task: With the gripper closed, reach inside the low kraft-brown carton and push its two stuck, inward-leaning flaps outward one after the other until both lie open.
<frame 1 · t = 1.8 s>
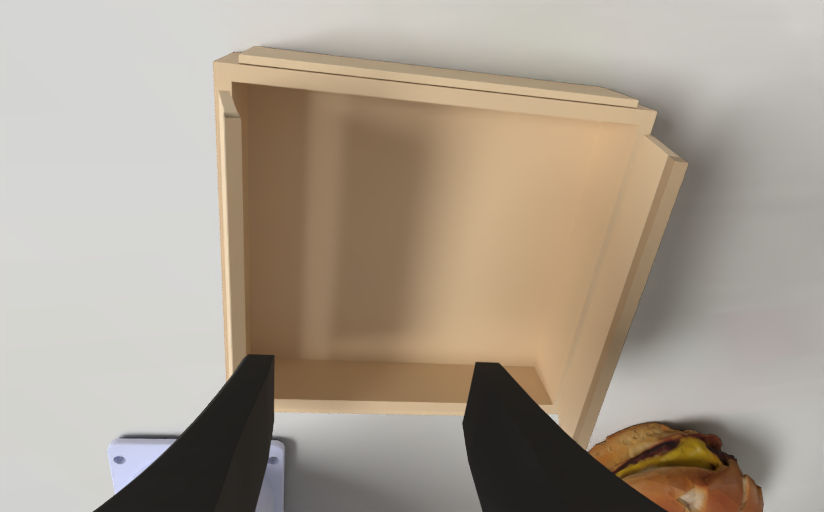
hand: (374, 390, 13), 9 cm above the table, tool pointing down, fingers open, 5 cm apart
flap 2: (233, 295, 16), point 5 cm above the table, hinge at -15.0°
carton: (413, 239, 22), on the table
burger: (636, 475, 30), on the table
flap 1: (607, 314, 18), point 5 cm above the table, hinge at -15.0°
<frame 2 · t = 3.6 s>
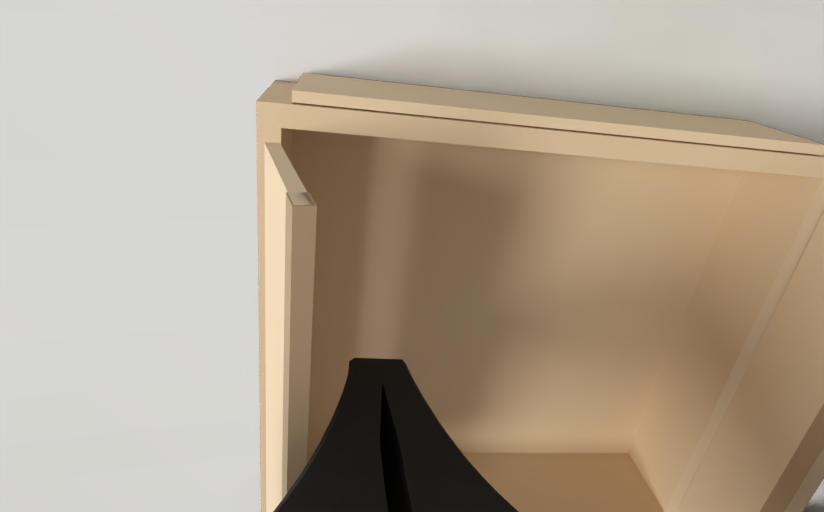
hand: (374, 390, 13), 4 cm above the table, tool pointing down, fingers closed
flap 2: (282, 421, 12), point 5 cm above the table, hinge at -15.0°, touching gripper
carton: (493, 309, 17), on the table
flap 1: (774, 427, 13), point 5 cm above the table, hinge at -15.0°
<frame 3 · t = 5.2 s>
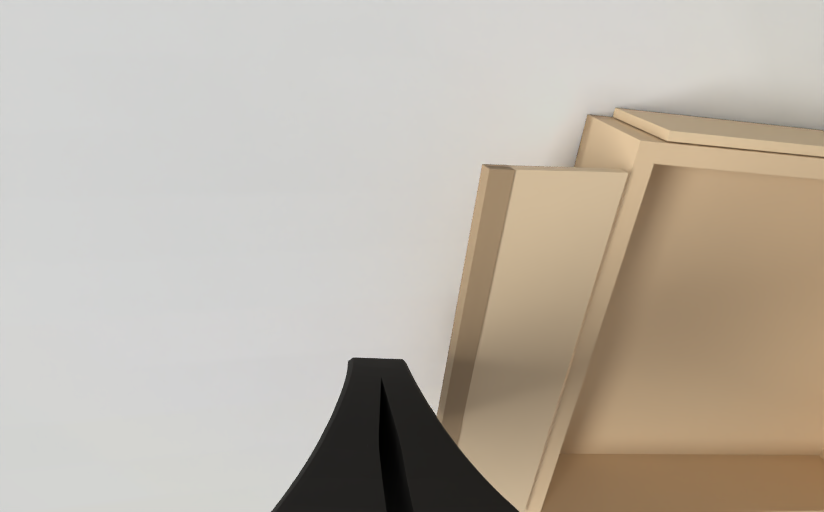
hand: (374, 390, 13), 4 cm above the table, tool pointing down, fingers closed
flap 2: (506, 377, 14), point 3 cm above the table, hinge at 78.5°
carton: (725, 320, 18), on the table
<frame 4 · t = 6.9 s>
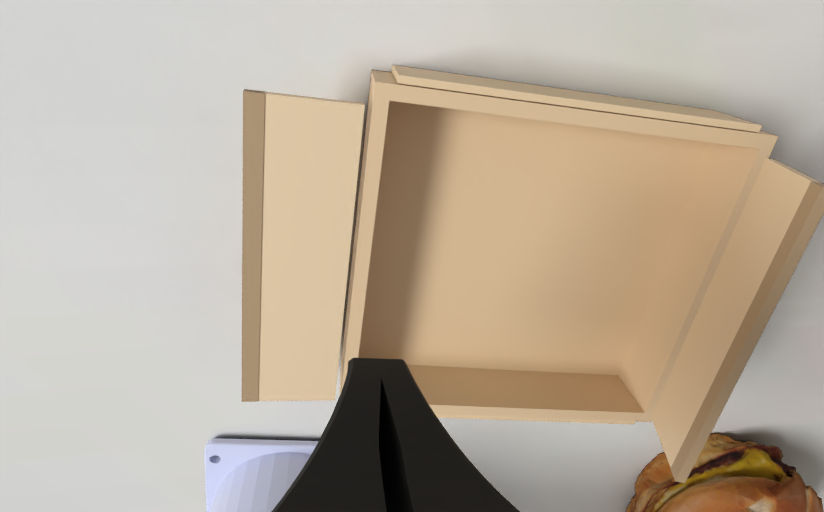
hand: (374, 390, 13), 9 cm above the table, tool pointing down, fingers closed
flap 2: (296, 268, 18), point 3 cm above the table, hinge at 86.1°
carton: (517, 250, 22), on the table
burger: (693, 484, 31), on the table
flap 1: (722, 327, 19), point 5 cm above the table, hinge at -15.0°
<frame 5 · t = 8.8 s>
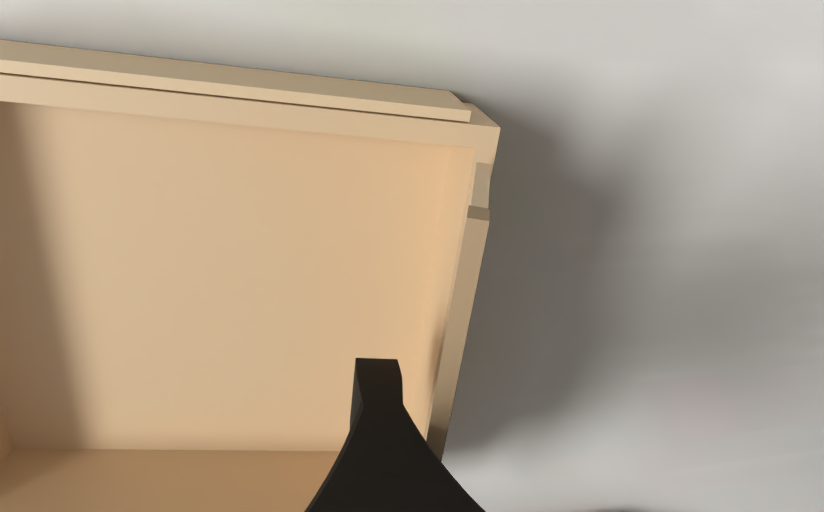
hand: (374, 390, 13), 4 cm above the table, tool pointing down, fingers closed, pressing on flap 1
carton: (213, 295, 16), on the table
flap 1: (436, 422, 12), point 5 cm above the table, hinge at -14.6°, touching gripper
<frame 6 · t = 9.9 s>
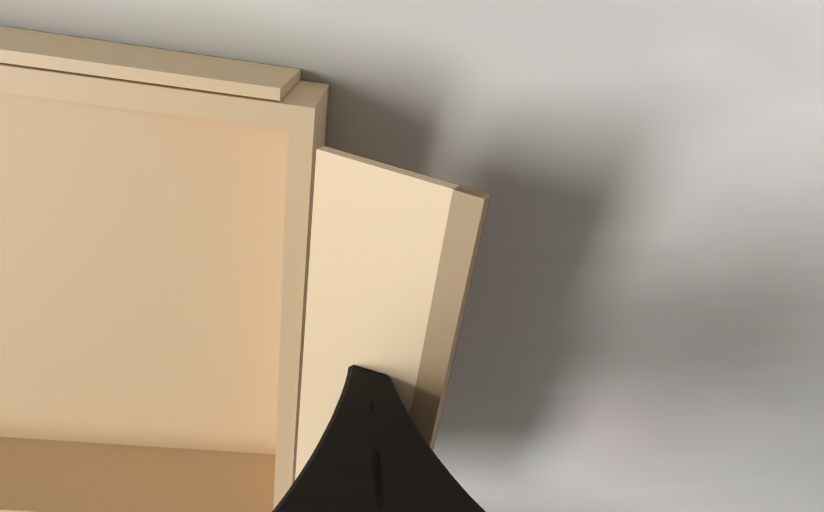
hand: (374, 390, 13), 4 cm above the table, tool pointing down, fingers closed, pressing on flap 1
carton: (69, 281, 15), on the table
flap 1: (366, 404, 12), point 4 cm above the table, hinge at 61.3°, touching gripper
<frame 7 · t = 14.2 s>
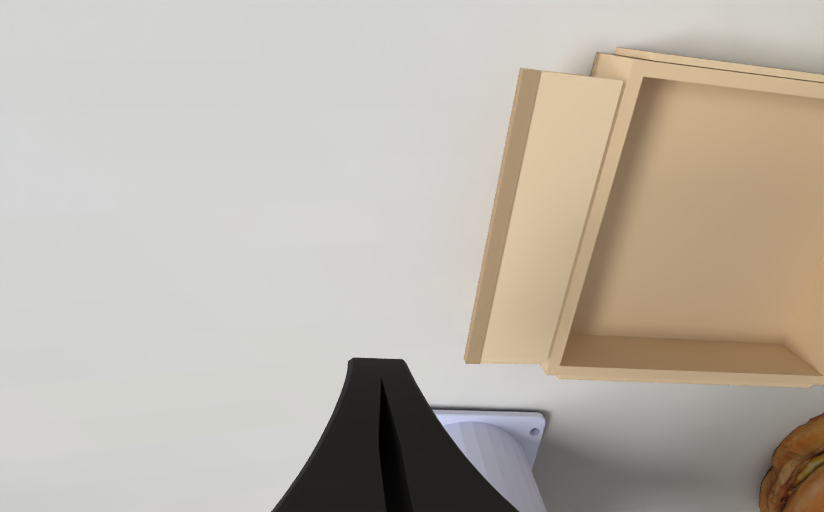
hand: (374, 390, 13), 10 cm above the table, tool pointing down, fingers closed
flap 2: (534, 235, 20), point 3 cm above the table, hinge at 87.3°
carton: (703, 223, 24), on the table
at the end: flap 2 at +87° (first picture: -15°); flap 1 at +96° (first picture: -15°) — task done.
